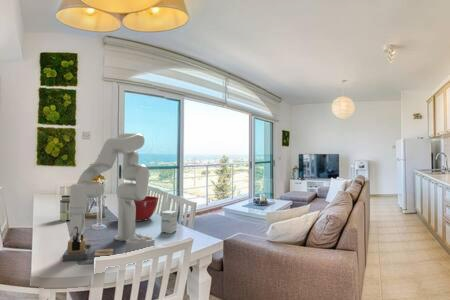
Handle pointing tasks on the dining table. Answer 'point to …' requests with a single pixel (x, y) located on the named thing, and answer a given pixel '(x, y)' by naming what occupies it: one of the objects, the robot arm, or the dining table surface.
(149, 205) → the mixing bowl
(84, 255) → the vise block
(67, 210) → the coffee can
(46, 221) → the dining table surface
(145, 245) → the lumpy-topped squat cylinder
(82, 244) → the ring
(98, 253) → the cork pad
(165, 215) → the supplement box
